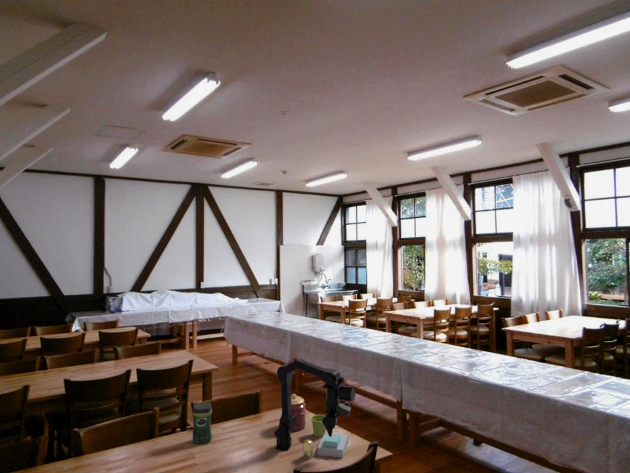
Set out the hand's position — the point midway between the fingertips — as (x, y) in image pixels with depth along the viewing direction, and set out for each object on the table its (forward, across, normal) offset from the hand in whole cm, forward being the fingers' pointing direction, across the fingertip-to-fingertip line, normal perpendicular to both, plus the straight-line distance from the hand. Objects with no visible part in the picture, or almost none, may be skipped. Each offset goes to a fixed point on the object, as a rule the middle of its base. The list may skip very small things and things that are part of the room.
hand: (332, 432), depth 200 cm
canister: (+12, +31, +26) cm, 42 cm away
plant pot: (+12, +24, +10) cm, 28 cm away
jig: (+12, +10, +1) cm, 15 cm away
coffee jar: (+13, +4, +67) cm, 68 cm away
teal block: (+8, +6, +1) cm, 10 cm away
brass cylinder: (+12, -1, +11) cm, 16 cm away
